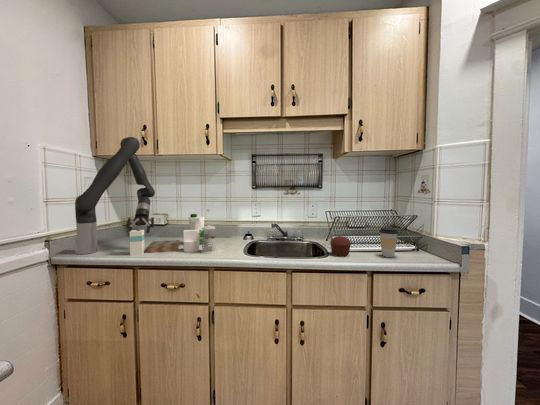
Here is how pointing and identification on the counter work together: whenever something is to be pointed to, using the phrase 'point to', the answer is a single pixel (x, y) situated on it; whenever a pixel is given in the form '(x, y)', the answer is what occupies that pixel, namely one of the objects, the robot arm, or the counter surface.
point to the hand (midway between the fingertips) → (139, 232)
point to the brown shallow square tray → (163, 246)
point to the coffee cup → (388, 241)
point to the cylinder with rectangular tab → (191, 240)
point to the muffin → (340, 246)
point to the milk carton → (197, 225)
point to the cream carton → (137, 242)
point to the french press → (208, 240)
